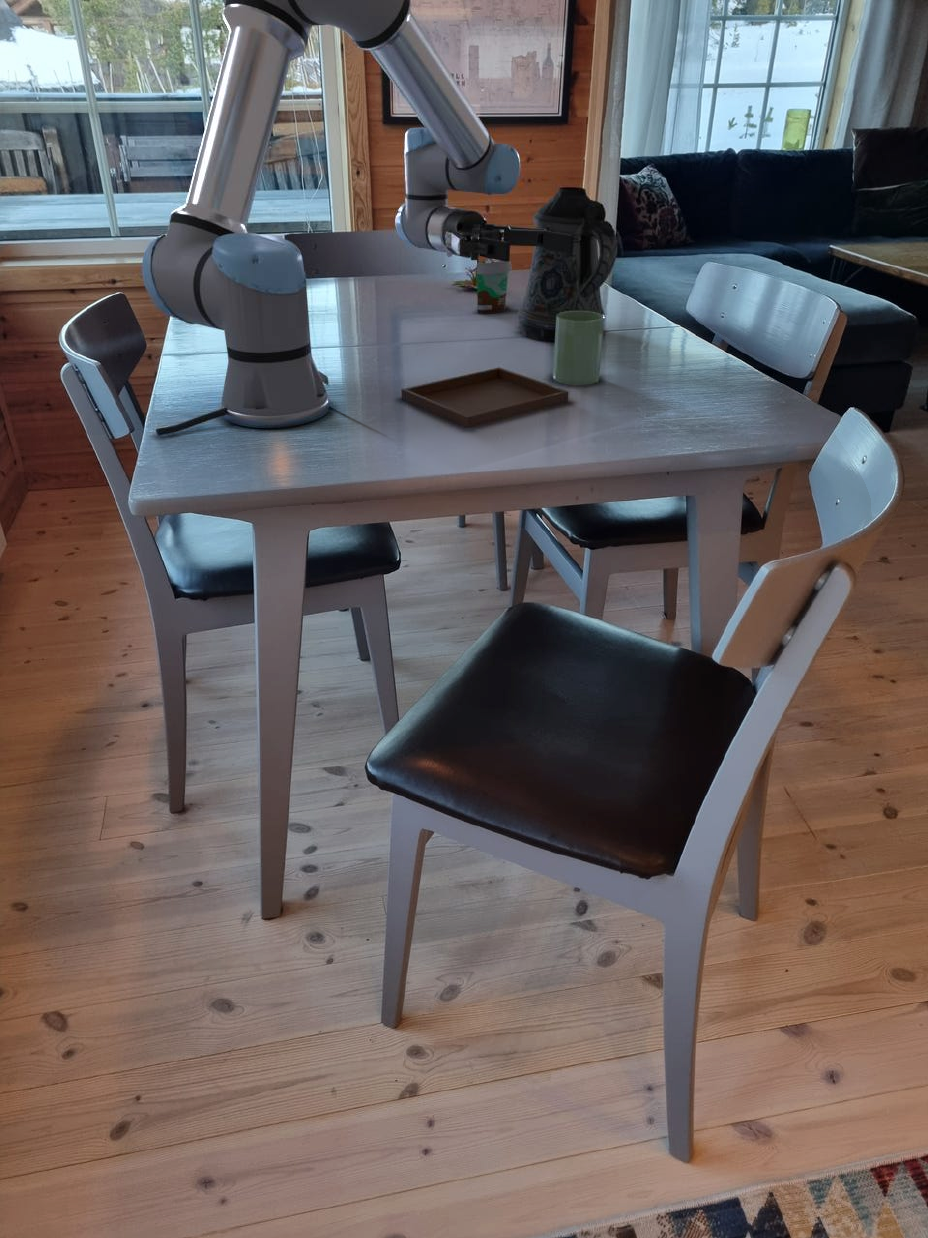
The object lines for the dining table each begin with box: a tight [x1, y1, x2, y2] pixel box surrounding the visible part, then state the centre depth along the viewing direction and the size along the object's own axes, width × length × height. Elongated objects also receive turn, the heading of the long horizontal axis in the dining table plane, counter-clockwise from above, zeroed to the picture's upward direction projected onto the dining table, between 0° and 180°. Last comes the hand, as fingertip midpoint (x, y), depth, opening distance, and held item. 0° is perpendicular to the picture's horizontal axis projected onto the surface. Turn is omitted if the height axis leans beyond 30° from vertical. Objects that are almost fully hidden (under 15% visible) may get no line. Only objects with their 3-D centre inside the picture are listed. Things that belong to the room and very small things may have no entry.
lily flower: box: [450, 266, 477, 290], centre depth 202 cm, size 12×12×5 cm
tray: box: [400, 367, 569, 429], centre depth 131 cm, size 19×16×2 cm
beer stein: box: [517, 186, 618, 343], centre depth 161 cm, size 16×19×25 cm
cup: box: [552, 311, 605, 386], centre depth 139 cm, size 7×7×10 cm
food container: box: [476, 258, 513, 315], centre depth 182 cm, size 12×6×10 cm, turn 168°
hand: (540, 248), depth 138 cm, fingers open, 13 cm apart
